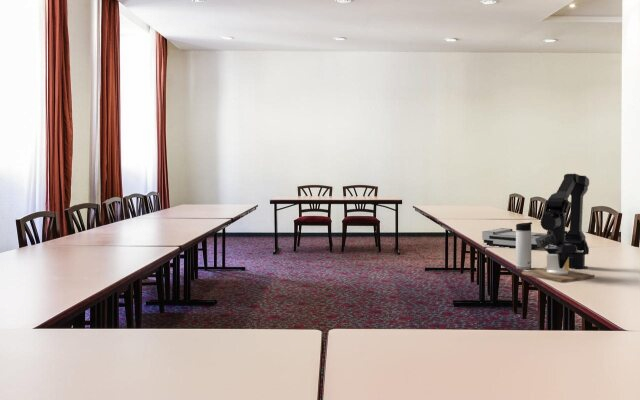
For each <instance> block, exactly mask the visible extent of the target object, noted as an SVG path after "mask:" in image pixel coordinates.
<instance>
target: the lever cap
mask: <svg viewBox="0 0 640 400" xmlns="http://www.w3.org/2000/svg"><path fill="white" fill-rule="evenodd" d="M546 269H547V273H548V274H553V275H566V274H568V271H569V270H570V268H569V257H568V259H567V261H566V262H565V264H564V266H563V268H559V261H558V255H557V254H548V253H546Z"/></svg>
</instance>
